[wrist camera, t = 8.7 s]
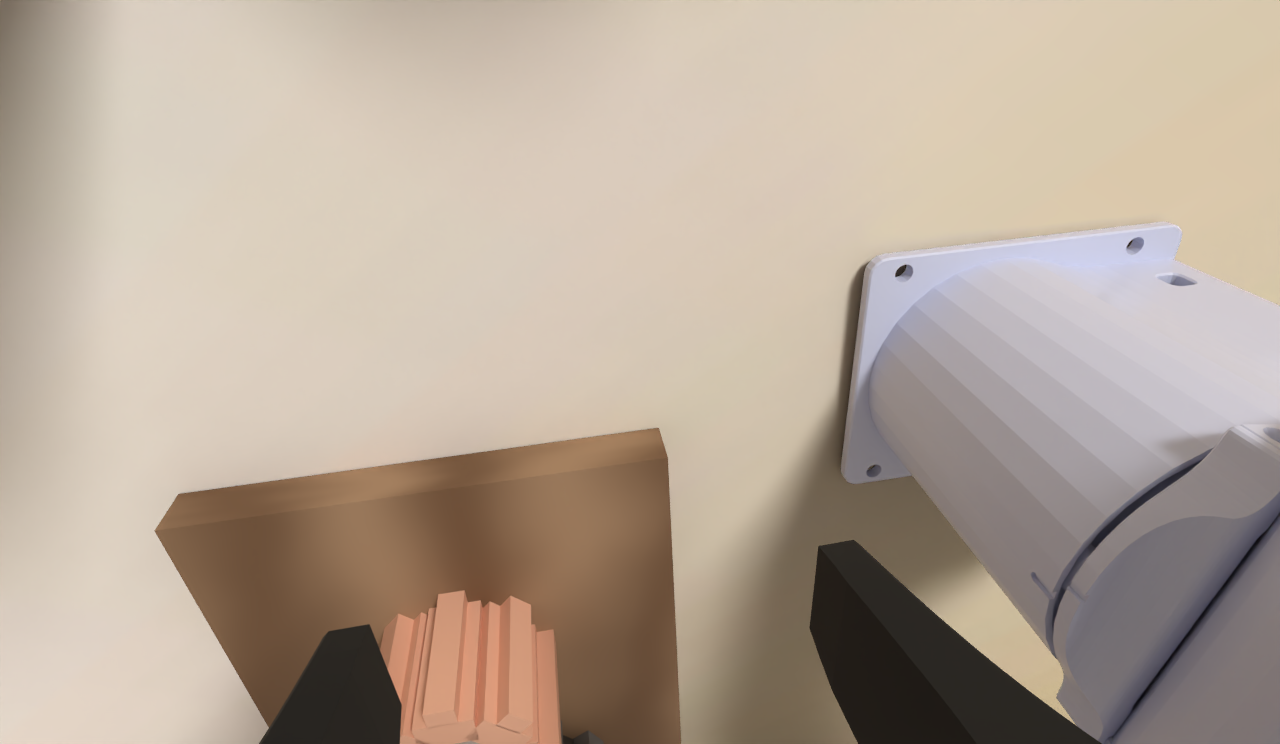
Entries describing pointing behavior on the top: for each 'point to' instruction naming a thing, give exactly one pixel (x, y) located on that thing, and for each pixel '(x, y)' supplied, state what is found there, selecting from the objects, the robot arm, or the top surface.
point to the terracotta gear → (474, 674)
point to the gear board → (454, 567)
